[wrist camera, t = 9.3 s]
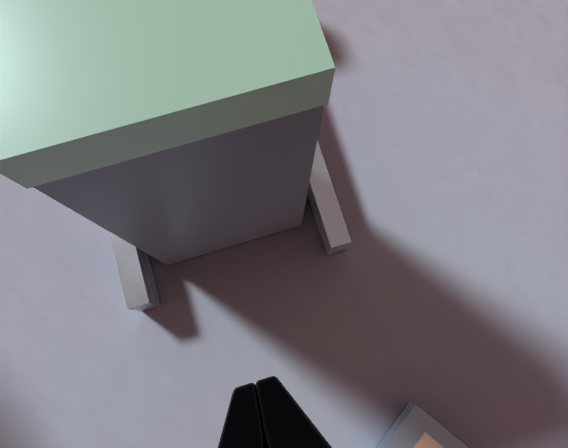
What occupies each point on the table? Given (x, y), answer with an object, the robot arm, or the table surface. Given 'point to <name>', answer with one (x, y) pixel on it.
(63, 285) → the table surface
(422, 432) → the picture board
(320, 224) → the plunger track
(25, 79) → the plunger
